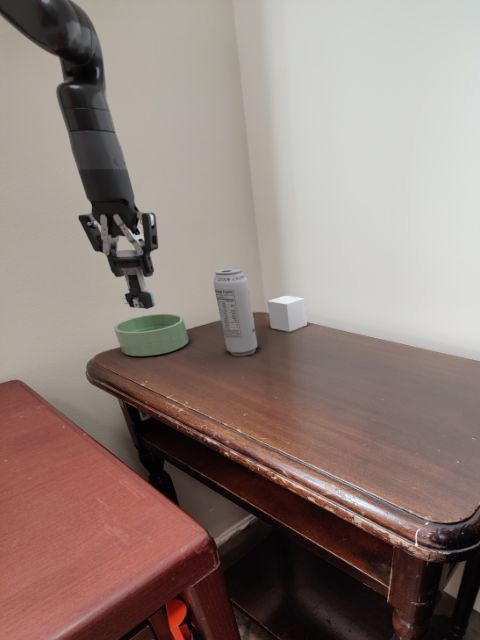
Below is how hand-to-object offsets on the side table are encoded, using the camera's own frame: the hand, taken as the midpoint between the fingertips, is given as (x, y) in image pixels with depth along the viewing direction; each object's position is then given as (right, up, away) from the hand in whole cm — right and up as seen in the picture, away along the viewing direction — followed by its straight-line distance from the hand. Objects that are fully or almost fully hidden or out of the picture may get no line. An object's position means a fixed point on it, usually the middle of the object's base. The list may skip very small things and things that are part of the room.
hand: (134, 275), depth 75 cm
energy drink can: (+20, -14, +3) cm, 25 cm away
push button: (-1, -5, +3) cm, 6 cm away
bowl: (+1, -11, +8) cm, 14 cm away
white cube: (+28, -5, +16) cm, 33 cm away
